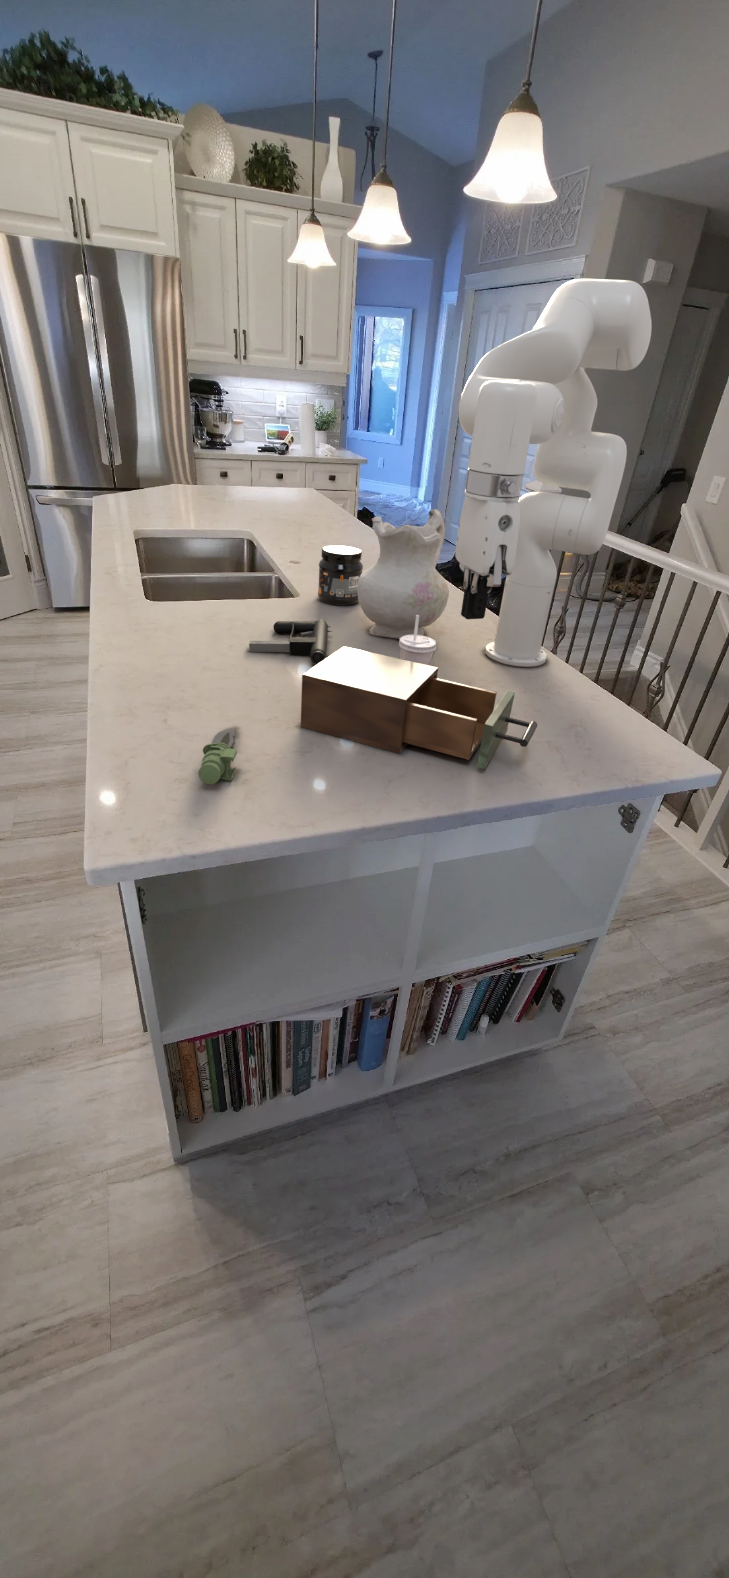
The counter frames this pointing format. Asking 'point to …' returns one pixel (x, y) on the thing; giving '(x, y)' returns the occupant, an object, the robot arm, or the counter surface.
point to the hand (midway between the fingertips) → (472, 617)
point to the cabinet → (362, 696)
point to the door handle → (297, 640)
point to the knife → (218, 758)
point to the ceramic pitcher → (404, 578)
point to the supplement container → (339, 574)
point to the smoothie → (417, 647)
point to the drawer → (461, 720)
